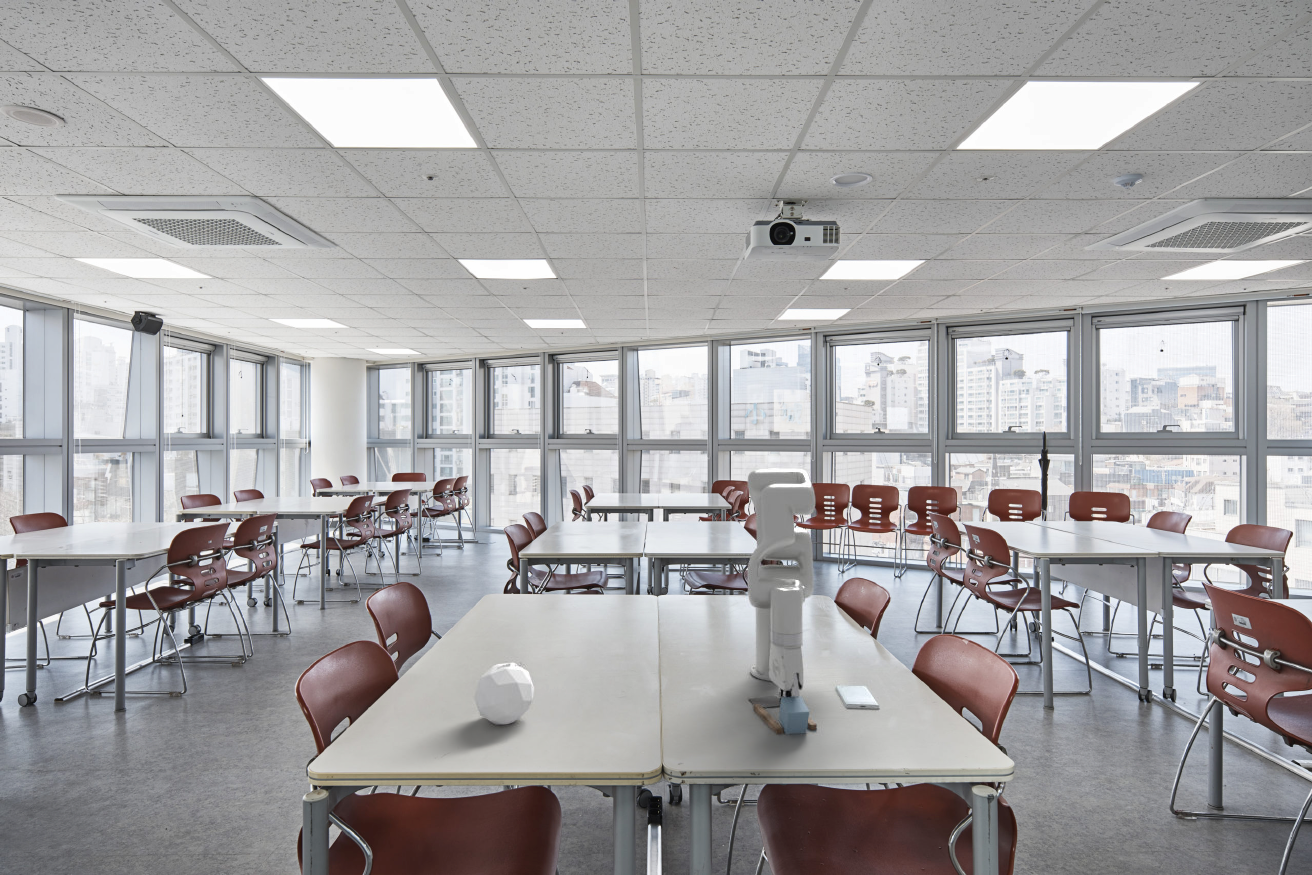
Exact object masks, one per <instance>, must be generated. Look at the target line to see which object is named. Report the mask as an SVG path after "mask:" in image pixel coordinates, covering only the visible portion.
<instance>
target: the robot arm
mask: <svg viewBox="0 0 1312 875" xmlns="http://www.w3.org/2000/svg"><path fill="white" fill-rule="evenodd" d="M747 488H748V493H749V496H750V500H751V502H752V504H753V507H754V509H755V511H754V512H755V514H756V516H755V518H756V525H755V526H756V548H755V549H754V551H753V553H752V554H751V556H750V557H749V561H748V564H747V571H746V572H747V596H748V601H749V604H750V605H751V606H752V607H754V609H755V664H754V665H752V666H751V667H750V673H751V675H752V676H753V677H755V678H757V679H760V680H764V681H769V682H773V683H774V684H775V685H776V686H777V687H778V690H777V691H778V697H779V698H780V703H781V697H793V698H796V697H799V696H800V691H802V690H803V688H804V677H805V676H804V662H803V650H802V647H803V643H804V640H803V639H804V638H803V636H804V634H803V633H804V632H803V628H804V626H803V605H804V603H805V601H806V599H808V598H810V597H811V596H812V595H813V592H814V559H813V558H814V557H813V556H814V555H813V541H812V536H811V534H810V533H809V531H808V530H807V529H805V528H801V527H795V519H794V517H795V516H808V515H812V514H813V513H814V511H815V507H816V495H815V490H814V486H813V484H812V480H811V479H810V476H809V474H808V472H807V471H806V470H805V469H802V468H800V469H799V468H759V469H755V470H752V471H750V473H749V474H748V476H747ZM763 560H767V561H791V562H792V561H793V562H795V563H796V564H795V565H792V564H791V565H790V564H788V565H786V564H764V565H760V563H762V561H763Z"/></svg>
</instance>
